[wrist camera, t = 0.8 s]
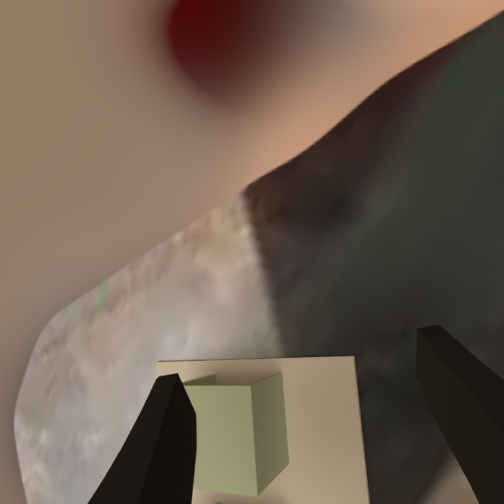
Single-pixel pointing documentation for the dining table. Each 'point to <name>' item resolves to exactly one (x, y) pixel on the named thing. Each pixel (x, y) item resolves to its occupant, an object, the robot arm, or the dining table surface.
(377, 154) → the dining table surface
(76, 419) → the dining table surface
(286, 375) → the mat
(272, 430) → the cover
